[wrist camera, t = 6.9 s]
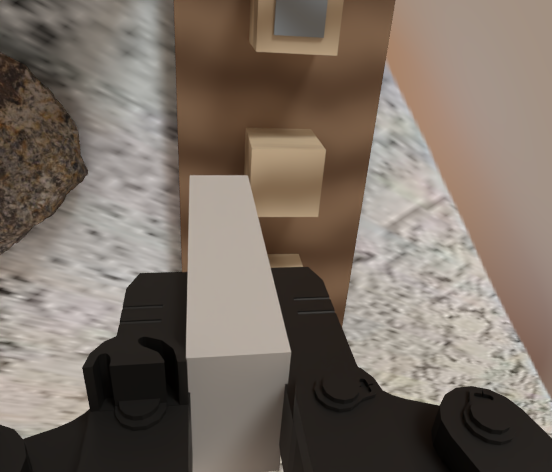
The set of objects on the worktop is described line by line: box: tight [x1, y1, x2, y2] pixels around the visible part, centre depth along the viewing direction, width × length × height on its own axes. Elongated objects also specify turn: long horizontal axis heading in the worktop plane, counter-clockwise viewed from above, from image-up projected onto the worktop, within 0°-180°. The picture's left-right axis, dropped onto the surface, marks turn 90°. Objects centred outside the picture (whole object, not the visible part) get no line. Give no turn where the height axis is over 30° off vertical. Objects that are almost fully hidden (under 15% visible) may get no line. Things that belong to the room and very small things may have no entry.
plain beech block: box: [244, 128, 326, 217], centre depth 35 cm, size 5×5×5 cm
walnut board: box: [174, 0, 395, 327], centre depth 38 cm, size 34×15×2 cm, turn 176°
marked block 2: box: [249, 0, 344, 56], centre depth 30 cm, size 5×5×5 cm
